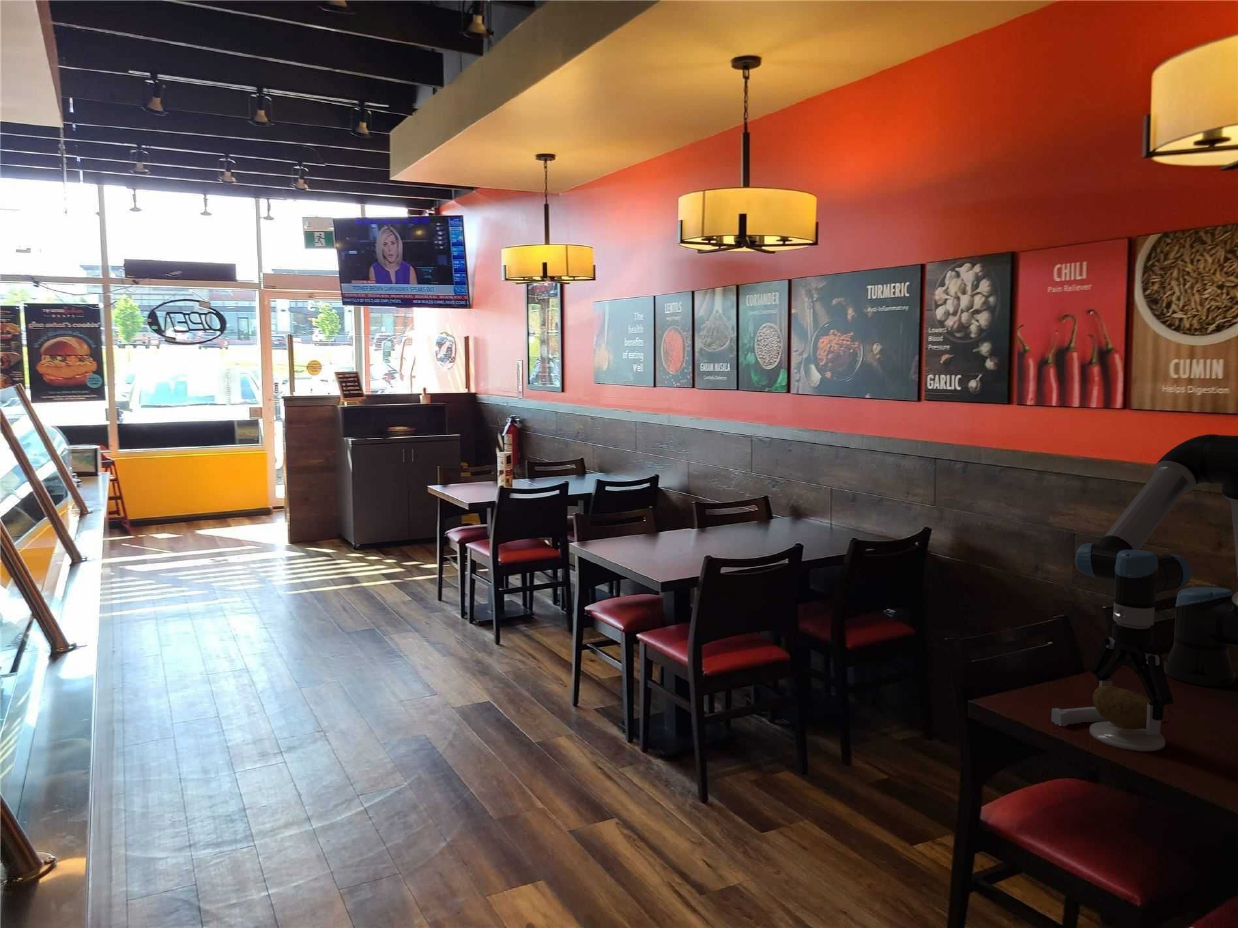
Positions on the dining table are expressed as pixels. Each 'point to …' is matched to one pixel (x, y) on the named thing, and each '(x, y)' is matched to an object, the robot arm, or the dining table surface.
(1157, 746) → the plate
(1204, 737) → the dining table surface
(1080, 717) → the rail
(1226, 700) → the dining table surface
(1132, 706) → the potato
